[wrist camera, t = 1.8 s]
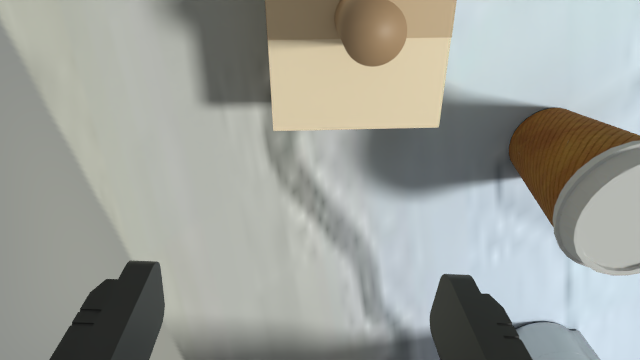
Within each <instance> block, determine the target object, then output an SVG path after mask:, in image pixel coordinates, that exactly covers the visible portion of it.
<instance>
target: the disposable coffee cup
mask: <svg viewBox="0 0 640 360" xmlns="http://www.w3.org/2000/svg"><path fill="white" fill-rule="evenodd" d="M509 156H510V160H511V162H512V164H513V165H514V167H515V168H516V170H517V171H518V173H519V174H520V176H521V178H522V179H523V181H524V182H525V184H526V185H527V187H528V189H529V190H530V192H531V193H532V195H533V196H534V198H535V200H536V201H537V203H538V204H539V206H540V207H541V209H542V210H543V212H544V214H545V215H546V216H547V218H548V220H549V221H550V223H551V224H552V226H553V227H554V234H555V237H556V240H557V242H558V245H559V247H560V249H561V250H562V251H563V252H564V253H565V254H566V256H567V257H569V258H570V259H572V260H573V261H574V262H576V263H578V264H581V265H584V266H587V267H590V268H591V269H593V270H595V271H596V272H600V273H604V274H609V275H632V274H638V273H640V135H637V134H634V133H630V132H629V131H626V130H623V129H620V128H617V127H614V126H611V125H609V124H605V123H603V122H600V121H598V120H594V119H592V118H589V117H586V116H582V115H580V114H577V113H575V112H572V111H569V110H567V109H562V108H550V109H545V110H542V111H539V112H536V113H535V114H533V115H532V116H530V117H528V118H527V119H526V120H525V121H523V122H522V123H521V124H520V125H519V127H518V128H517V129H516V131H515V132H514V134H513V136H512V138H511V141H510V145H509Z"/></svg>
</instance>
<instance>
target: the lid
mask: <svg viewBox="0 0 640 360" xmlns="http://www.w3.org/2000/svg"><path fill="white" fill-rule="evenodd" d="M456 1H457V0H265V8H266V24H267V39H268V53H269V68H270V84H271V99H272V115H273V131H295V130H342V129H390V128H437V127H439V123H440V115H441V108H442V100H443V93H444V86H445V78H446V71H447V63H448V56H449V48H450V41H451V37H452V30H453V23H454V15H455V8H456Z"/></svg>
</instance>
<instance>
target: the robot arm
mask: <svg viewBox="0 0 640 360" xmlns="http://www.w3.org/2000/svg"><path fill="white" fill-rule="evenodd" d="M164 307H165V303H164V294H163V285H162V277H161V268H160V264H159V262H153V261H129V262H128V263H127V264H126V266H125V268H124V270H123V271H122V273H121V275H120V277H119V279H118V280H117V279H106V280H105V281H104V282H102V283H101V284H100V285H99V286H97V287H96V288H95V289H94V290H93V291H91V292H90V294H89V295H88V297H87V299H86V300H85V302H84V303H83V305H82V307H81V308H80V312H78V313H77V315H76V317H75V318H74V320H73V322H72V326H70V327H69V328H68V330H67V332H66V333H65V335H64V337H63V338H62V340H61V342H60V343H59V345H58V347H57V348H56V350H55V351H54V353H53V355H52V356H51V358H50V360H149V358H150V356H151V353H152V350H153V347H154V344H155V342H156V339H157V336H158V333H159V331H160V328H161V325H162V322H163V317H164ZM430 329H431V334H432V337H433V340H434V343H435V345H436V348H437V351H438V354H439V357H440V360H600V359H599V357H598V356H597V354H596V353H595V352H594V350H593V349H592V348H591V346H590V345H589V344H588V342H587V341H586V339H585V338H584V337H583V335H582V334H581V333H580V331H572V330H569V329H567V328H566V327H564V326H562V325H559V324H556V323H550V322H539V323H533V324H529V325H526V326H523V327H520V328H518V329H515V327H514V326H512V322H511V320H510V319H509V317H508V315H507V313H506V312H505V310H504V308H503V307H502V306H501V305H500V304H499V303H498V302H497V301H496V300H495V299H494V298H492V297H491V296H490V295H489V294H481V293H480V291H479V289H478V287H477V285H476V283H475V281H474V279H473V278H472V277H471V276H470V275H455V274H443V275H442V277H441V279H440V282H439V285H438V289H437V292H436V295H435V299H434V302H433V305H432V309H431V313H430Z"/></svg>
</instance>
